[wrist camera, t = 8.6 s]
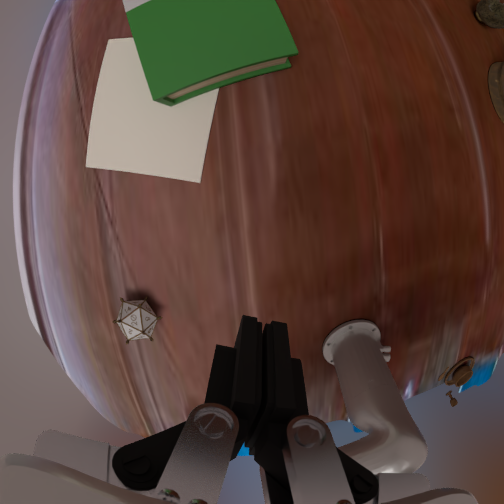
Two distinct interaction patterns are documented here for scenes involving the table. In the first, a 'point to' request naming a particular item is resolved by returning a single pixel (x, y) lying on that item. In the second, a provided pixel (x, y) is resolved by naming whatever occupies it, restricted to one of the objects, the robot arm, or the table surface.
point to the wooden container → (497, 87)
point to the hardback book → (206, 44)
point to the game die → (136, 319)
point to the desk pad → (145, 122)
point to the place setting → (458, 376)
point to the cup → (490, 13)
